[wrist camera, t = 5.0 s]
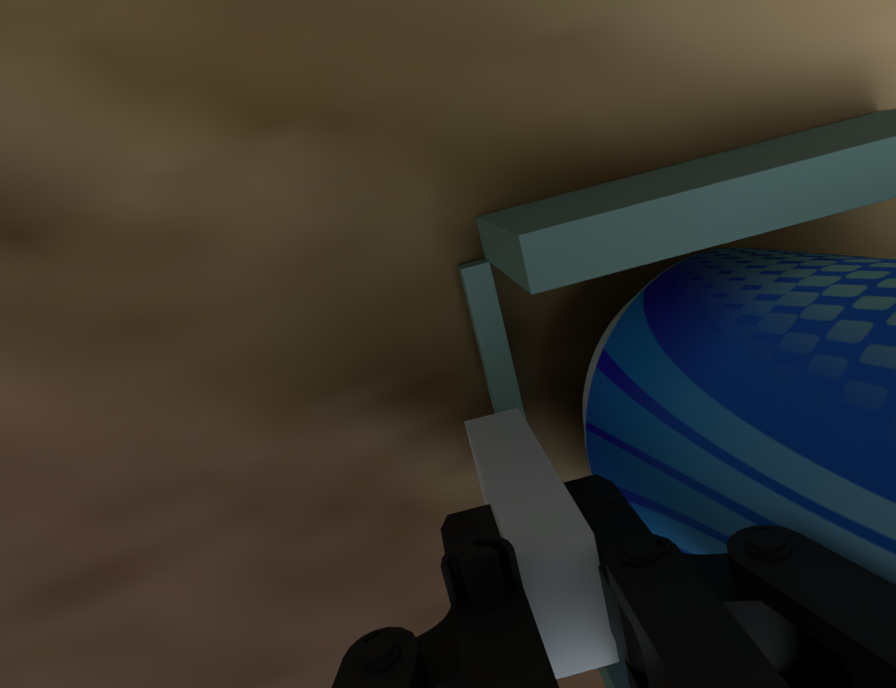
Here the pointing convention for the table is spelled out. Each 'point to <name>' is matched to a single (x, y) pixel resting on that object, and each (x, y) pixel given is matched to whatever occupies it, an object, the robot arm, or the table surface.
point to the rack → (670, 226)
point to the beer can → (754, 401)
